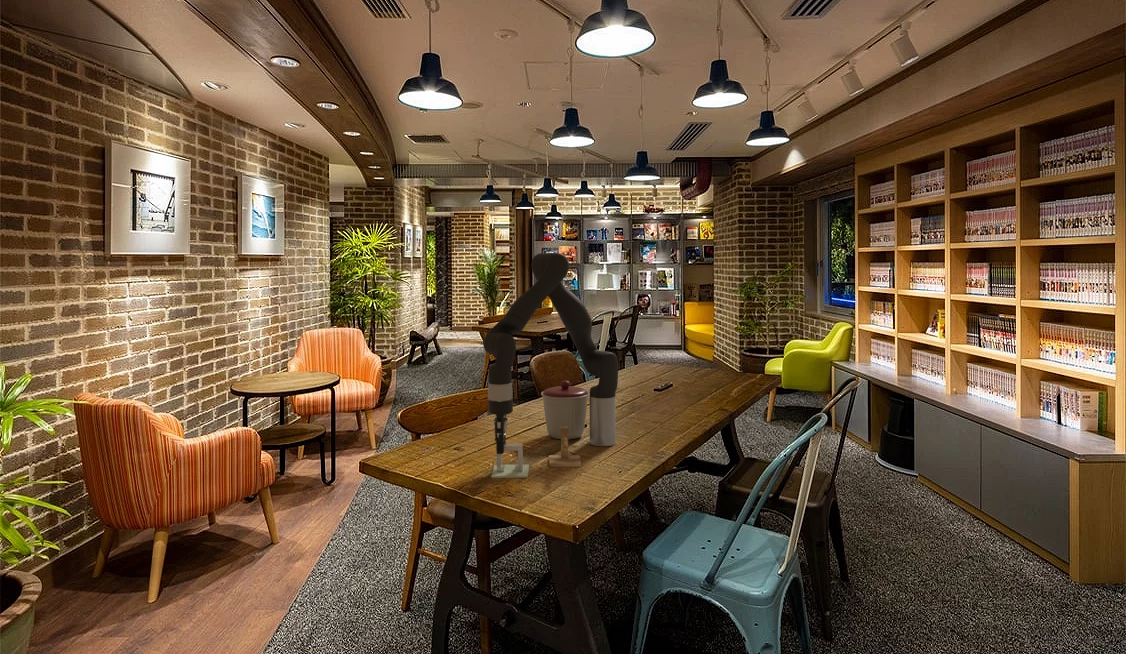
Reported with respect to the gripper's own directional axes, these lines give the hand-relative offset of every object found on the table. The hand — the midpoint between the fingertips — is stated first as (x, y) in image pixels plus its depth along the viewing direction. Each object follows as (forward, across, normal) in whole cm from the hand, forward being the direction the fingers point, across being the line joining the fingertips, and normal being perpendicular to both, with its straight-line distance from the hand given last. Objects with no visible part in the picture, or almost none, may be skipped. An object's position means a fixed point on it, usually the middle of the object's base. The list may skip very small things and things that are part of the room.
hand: (501, 449), depth 197 cm
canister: (+7, -40, +21) cm, 46 cm away
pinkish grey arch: (+6, 0, +3) cm, 7 cm away
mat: (+7, 0, +3) cm, 8 cm away
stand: (+7, -4, +20) cm, 21 cm away
